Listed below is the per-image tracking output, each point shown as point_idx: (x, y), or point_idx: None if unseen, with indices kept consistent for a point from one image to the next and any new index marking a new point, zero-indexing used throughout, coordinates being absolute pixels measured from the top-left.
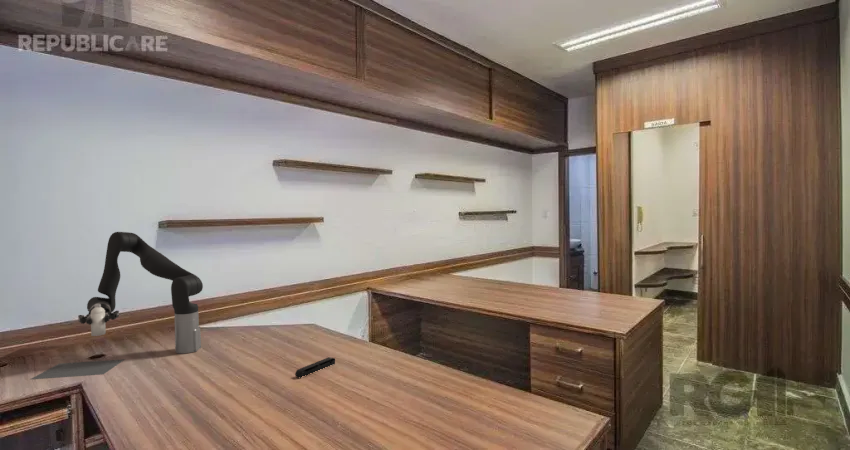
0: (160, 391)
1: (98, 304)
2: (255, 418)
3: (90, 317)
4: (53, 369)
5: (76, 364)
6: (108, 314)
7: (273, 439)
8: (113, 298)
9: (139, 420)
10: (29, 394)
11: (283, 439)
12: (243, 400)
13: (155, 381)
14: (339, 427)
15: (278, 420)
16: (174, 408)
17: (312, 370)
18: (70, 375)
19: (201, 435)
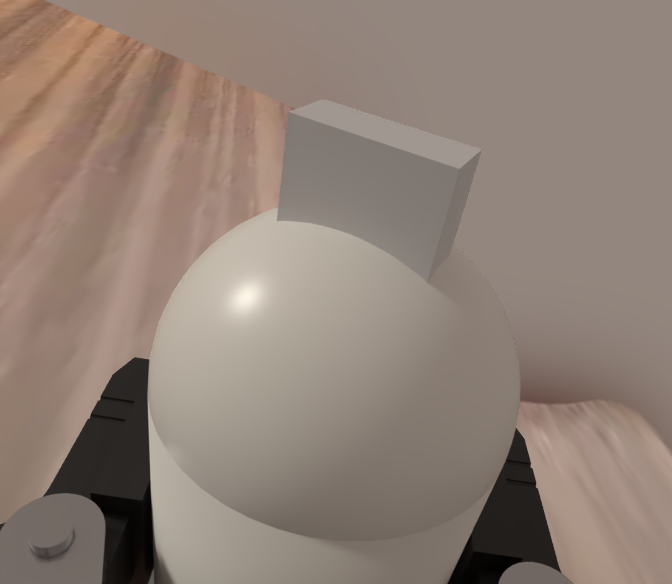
0: (146, 181)
1: (356, 126)
2: (87, 55)
3: (485, 539)
4: None
5: None
6: (20, 547)
7: (116, 34)
8: None
9: (249, 128)
10: (575, 417)
11: (107, 30)
12: (42, 80)
13: (114, 236)
14: (30, 12)
15: (68, 41)
16: (170, 121)
17: None
18: None
19: (184, 70)
